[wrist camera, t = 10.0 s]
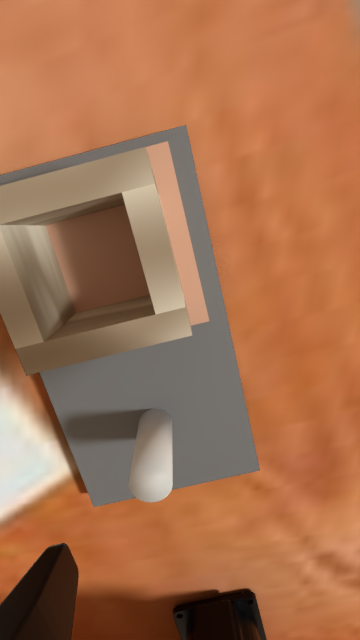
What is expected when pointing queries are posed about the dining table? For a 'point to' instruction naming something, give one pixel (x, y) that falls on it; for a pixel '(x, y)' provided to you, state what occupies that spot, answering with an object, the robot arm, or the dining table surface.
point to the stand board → (152, 361)
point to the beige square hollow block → (47, 279)
